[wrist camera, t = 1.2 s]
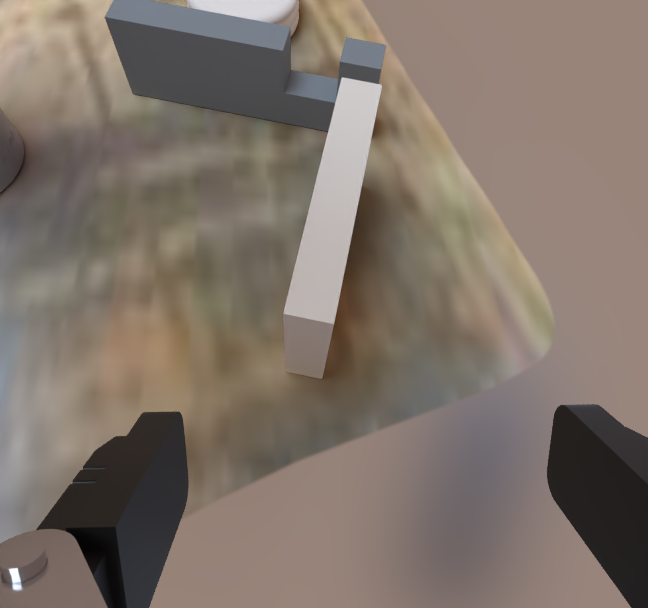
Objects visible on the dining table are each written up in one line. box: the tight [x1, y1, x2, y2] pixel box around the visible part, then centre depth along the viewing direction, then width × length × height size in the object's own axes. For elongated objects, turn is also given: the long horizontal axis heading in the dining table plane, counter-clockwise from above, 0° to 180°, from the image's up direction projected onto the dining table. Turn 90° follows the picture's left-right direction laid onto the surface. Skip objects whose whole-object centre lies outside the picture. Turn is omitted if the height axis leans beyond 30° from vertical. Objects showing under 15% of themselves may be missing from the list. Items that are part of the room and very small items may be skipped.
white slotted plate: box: [283, 77, 382, 379], centre depth 32 cm, size 16×2×10 cm, turn 169°
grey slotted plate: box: [105, 0, 386, 131], centre depth 39 cm, size 20×2×7 cm, turn 79°
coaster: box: [187, 0, 299, 36], centre depth 46 cm, size 10×10×4 cm
